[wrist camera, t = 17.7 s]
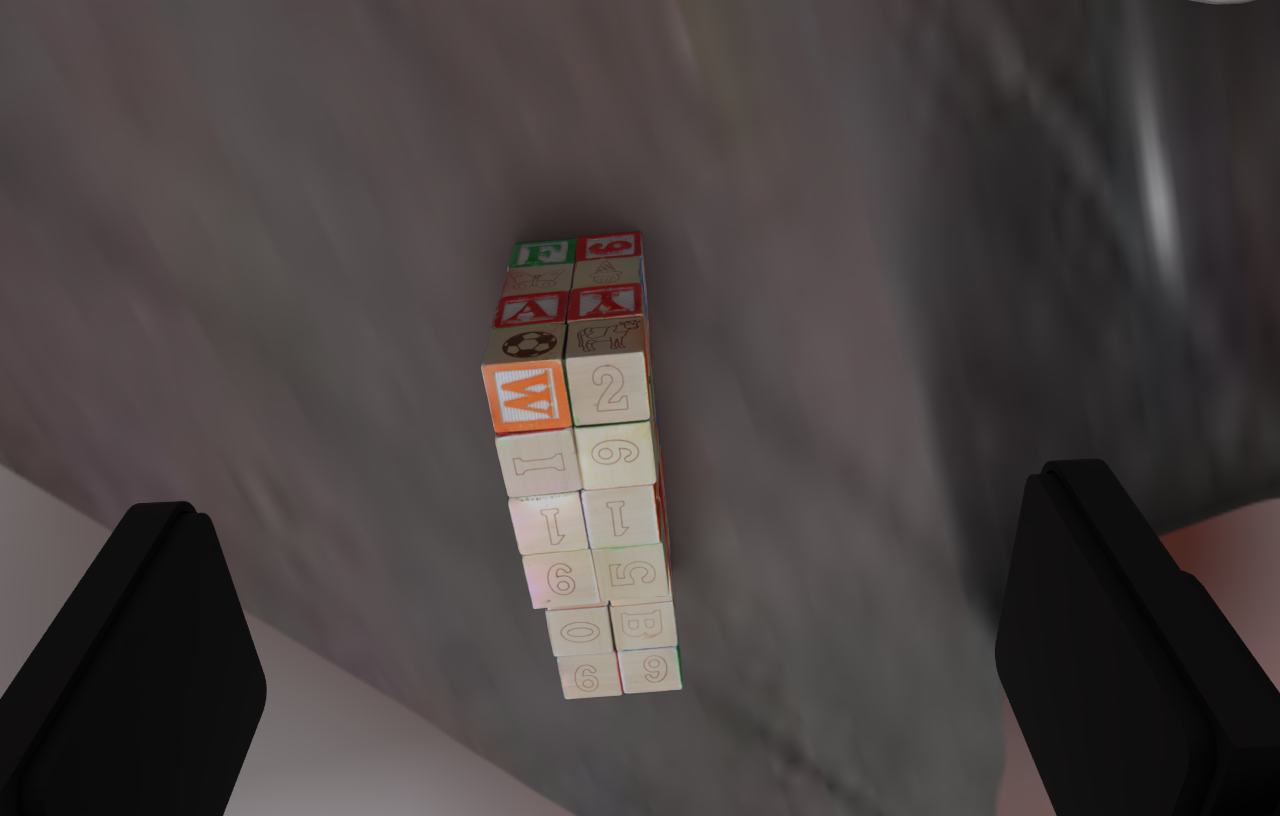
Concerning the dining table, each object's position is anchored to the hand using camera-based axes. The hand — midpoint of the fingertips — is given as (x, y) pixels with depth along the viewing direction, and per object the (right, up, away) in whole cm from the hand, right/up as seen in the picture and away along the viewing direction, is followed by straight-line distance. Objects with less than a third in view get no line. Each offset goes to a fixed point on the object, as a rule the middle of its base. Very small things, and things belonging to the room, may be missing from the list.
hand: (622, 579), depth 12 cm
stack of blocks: (-2, +1, +42) cm, 42 cm away
